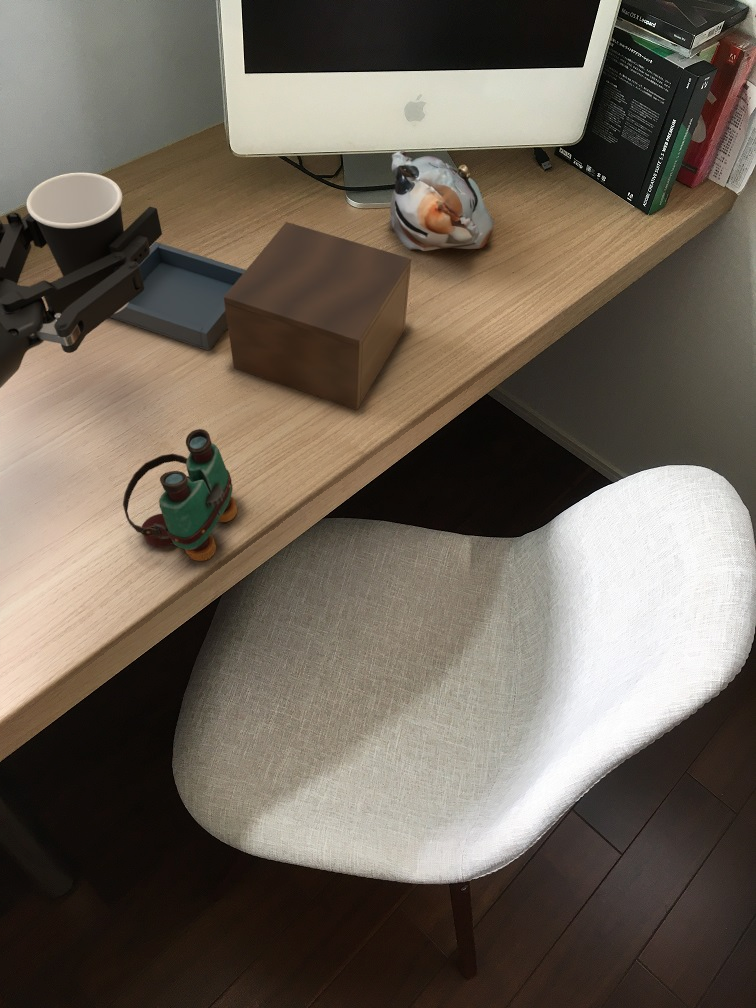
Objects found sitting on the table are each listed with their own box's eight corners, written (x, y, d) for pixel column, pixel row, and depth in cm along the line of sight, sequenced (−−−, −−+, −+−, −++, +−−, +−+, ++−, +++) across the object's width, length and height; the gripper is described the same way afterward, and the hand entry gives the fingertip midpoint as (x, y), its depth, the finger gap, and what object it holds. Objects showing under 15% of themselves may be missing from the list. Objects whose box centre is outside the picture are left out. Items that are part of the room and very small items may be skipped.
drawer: (71, 304, 91) (65, 286, 89) (127, 248, 97) (122, 231, 95) (209, 350, 87) (206, 333, 85) (257, 289, 94) (256, 272, 92)
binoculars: (132, 402, 70) (233, 425, 67) (164, 478, 78) (255, 501, 75) (77, 476, 64) (185, 504, 62) (117, 549, 73) (213, 576, 70)
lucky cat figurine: (512, 238, 102) (521, 180, 88) (440, 296, 102) (438, 247, 88) (439, 158, 104) (437, 90, 91) (369, 215, 104) (356, 155, 90)
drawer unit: (233, 368, 86) (223, 297, 78) (290, 293, 94) (286, 221, 86) (357, 410, 83) (359, 340, 75) (404, 329, 91) (411, 258, 83)
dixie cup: (140, 327, 74) (114, 225, 65) (54, 327, 74) (16, 224, 65) (151, 274, 79) (127, 172, 70) (70, 273, 78) (36, 170, 69)
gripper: (-135, 360, 65) (34, 215, 78) (76, 438, 61) (219, 272, 74) (-184, 287, 59) (9, 142, 72) (47, 369, 55) (208, 200, 68)
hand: (115, 208), depth 73 cm, fingers closed on dixie cup, 8 cm apart
